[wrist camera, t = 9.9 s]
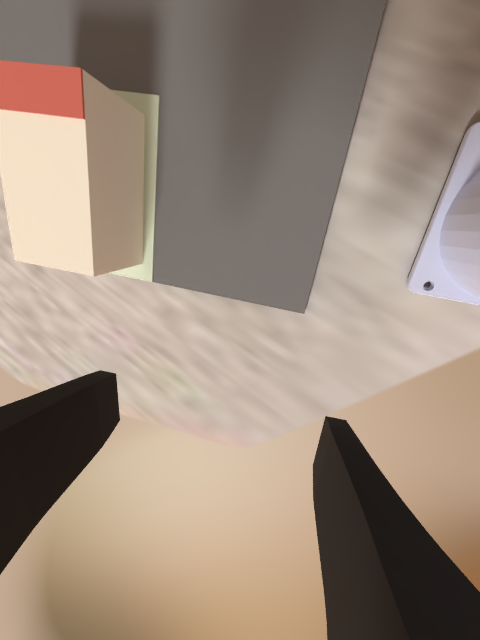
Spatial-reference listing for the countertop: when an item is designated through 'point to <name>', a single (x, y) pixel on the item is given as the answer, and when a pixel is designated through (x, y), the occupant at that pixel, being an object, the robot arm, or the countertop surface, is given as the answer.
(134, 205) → the card box
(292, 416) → the countertop surface
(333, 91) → the mat
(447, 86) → the countertop surface
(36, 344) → the countertop surface
